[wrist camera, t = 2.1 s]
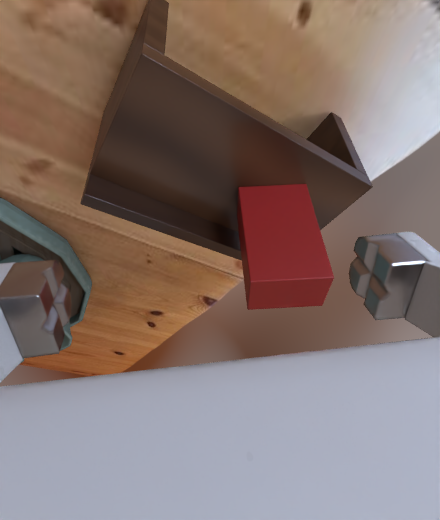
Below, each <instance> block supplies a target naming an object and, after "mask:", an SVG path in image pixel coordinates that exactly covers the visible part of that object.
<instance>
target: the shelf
mask: <svg viewBox="0 0 440 520" xmlns="http://www.w3.org/2000/svg"><path fill="white" fill-rule="evenodd" d="M168 6H169V3H168V2H166V1H165V0H149V1H148V3H147V5H146V8H145V10H144V13H143V15H142V18H141V20H140V23H139V25H138V28H137V30H136V33H135V35H134V38H133V40H132V43H131V45H130V48H129V50H128V53H127V55H126V58H125V60H124V63H123V65H122V68H121V70H120V73H119V75H118V78H117V80H116V82H115V85H114V87H113V90H112V92H111V95H110V97H109V100H108V102H107V105H106V107H105V110H104V113H103V117H102V121H101V125H100V129H99V133H98V136H97V140H96V144H95V148H94V152H93V156H92V160H91V164H90V168H89V172H88V176H87V180H86V184H85V188H84V192H83V196H82V199H81V204H82V205H85V206H88V207H91V208H93V209H96V210H99V211H102V212H105V213H108V214H111V215H113V216H116V217H119V218H122V219H125V220H128V221H131V222H133V223H136V224H139V225H142V226H145V227H148V228H151V229H153V230H156V231H159V232H162V233H165V234H168V235H171V236H173V237H176V238H179V239H182V240H185V241H188V242H191V243H193V244H196V245H199V246H202V247H205V248H208V249H210V250H213V251H216V252H219V253H222V254H225V255H228V256H230V257H233V258H236V259H239V260H242V257H241V248H240V239H239V231H238V222H237V208H238V188H239V187H250V186H271V185H292V184H306V185H307V188H308V191H309V195H310V198H311V202H312V205H313V208H314V212H315V215H316V218H317V222H318V225H319V229H320V230H321V229H322V228H323V227H325V226H326V225H327V224H328V223H329V222H331V221H332V220H333V219H334V218H336V217H337V216H338V215H339V214H341V213H342V212H343V211H344V210H345V209H347V208H348V207H349V206H350V205H351V204H352V203H354V202H355V201H356V200H358V199H359V198H360V197H361V196H362V195H364V194H365V193H366V192H367V191H368V190H369V189H371V188H372V187H373V186H372V184H371V182H370V180H369V178H368V176H367V174H366V171H365V169H364V167H363V165H362V163H361V161H360V158H359V156H358V154H357V152H356V150H355V147H354V145H353V143H352V141H351V139H350V137H349V134H348V132H347V130H346V128H345V126H344V123H343V121H342V119H341V118H340V117H338V116H337V115H335V114H334V113H331V114H330V115H329V116H328V117H327V118H326V119H325V120H324V121H323V122H322V123H321V125H320V126H319V127H318V128H317V129H316V130H315V131H314V132H313V133H312V134H311V135H310V137H309V138H308V139H307V140H306V139H304V138H303V137H301V136H299V135H298V134H296V133H294V132H293V131H291V130H289V129H288V128H286V127H284V126H282V125H281V124H279V123H277V122H276V121H274V120H272V119H271V118H269V117H267V116H266V115H264V114H262V113H261V112H259V111H257V110H255V109H254V108H252V107H250V106H249V105H247V104H245V103H244V102H242V101H240V100H239V99H237V98H235V97H234V96H232V95H230V94H228V93H227V92H225V91H223V90H222V89H220V88H218V87H217V86H215V85H213V84H212V83H210V82H208V81H207V80H205V79H203V78H202V77H200V76H198V75H196V74H195V73H193V72H191V71H190V70H188V69H186V68H185V67H183V66H181V65H180V64H178V63H176V62H175V61H173V60H171V59H169V58H168V57H166V56H164V53H165V41H166V30H167V18H168Z"/></svg>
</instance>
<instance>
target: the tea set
mask: <svg viewBox="0 0 440 520" xmlns="http://www.w3.org/2000/svg"><path fill="white" fill-rule="evenodd" d="M46 260H58V261H59V262H60V263H61V266H62V269H63V272H64V276H63V279H62V281H61V282H62V283H63V284H64V285H65V286H67V287H68V289H69V292H70V296H71V316H70V320H69V322H68V323H67V324H66V325H65V326H64V327H63V329H64V332H65V336H64V339H63V343H62V346H61V349H60V351H61V350H63V349H65V348H67V347H69V346H70V345H71V342H72V336H71V333H70V327H71V326H73V325H75V324H77V323H79V322H80V321H82V320H83V316H84V313H85V309H86V306H87V302H88V299H89V295H90V291H91V286H92V281H91V278H90V276H89V275H88V273H87V271H86V270H85V268H84V267H83V265H82V263H81V262H80V260H79V259H78V257H77V256H76V254H75V252H74V251H73V249H72V248H71V246H70V244H69V243H68V241H67V240H66V239H65V238H63V237H62V236H60V235H59V234H57V233H56V232H54V231H53V230H51V229H49V228H48V227H46V226H45V225H43V224H42V223H40V222H39V221H37V220H36V219H34V218H32V217H31V216H29V215H28V214H26V213H25V212H23V211H22V210H20V209H19V208H17V207H16V206H14V205H12V204H11V203H9V202H8V201H6V200H5V199H2V198H0V263H11V262H16V263H17V262H29V261H46ZM23 361H24V358H23ZM23 361H22V362H23ZM22 362H21V363H22Z"/></svg>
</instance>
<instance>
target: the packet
mask: <svg viewBox="0 0 440 520" xmlns="http://www.w3.org/2000/svg"><path fill="white" fill-rule="evenodd" d="M237 222H238V231H239V239H240V248H241V257H242V266H243V274H244V283H245V291H246V301H247V309H248V310H249V309H268V308H287V307H305V306H322V305H323V303H324V300H325V298H326V295H327V293H328V291H329V288H330V286H331V283H332V281H333V279H334V276H333V272H332V269H331V266H330V262H329V259H328V256H327V252H326V249H325V245H324V242H323V239H322V235H321V232H320V229H319V225H318V222H317V218H316V215H315V212H314V208H313V205H312V202H311V198H310V195H309V191H308V188H307V185H306V184H292V185H271V186H250V187H239V188H238V208H237Z"/></svg>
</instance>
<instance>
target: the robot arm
mask: <svg viewBox="0 0 440 520" xmlns="http://www.w3.org/2000/svg"><path fill="white" fill-rule="evenodd" d="M354 252H355V253H356V255H357V257H356V258H355V259H354V260H353V261H352V263H351V264H350V270H349V279H350V284H351V286H352V289H353V290H354V291H355V293H356V294H357V295H359V296H361V297H363V298H365V302H364V305H365V307H366V308H367V309H368V311H369V312H370V314H371V315H372V316H373V318H374V319H375V320H383V319H395V318H405V320H407V321H409V322H410V323H412V324H414V325H415V326H417V327H418V328H420V329H421V330H423V331H424V332H426V333H428V334H429V335H431V336H432V337H433V338H424V339H415V340H406V341H399V342H389V343H380V344H371V345H363V346H354V347H346V348H336V349H328V350H319V351H310V352H302V353H293V354H284V355H276V356H266V357H257V358H248V359H240V360H232V361H222V362H213V363H204V364H195V365H187V366H179V367H170V368H161V369H151V370H143V371H134V372H125V373H116V374H107V375H99V376H90V377H81V378H72V379H63V380H55V381H46V382H37V383H28V384H19V385H11V386H3V387H0V520H440V253H439V252H438V251H437V250H435V249H434V248H433V247H432V246H431V245H429V244H428V243H427V242H425V241H424V240H423V239H422V238H420V237H419V236H418V235H417V234H415V233H414V232H401V233H392V234H382V235H372V236H363V237H359V238H358V239H357V241H356V243H355V247H354ZM63 276H64V272H63V269H62V266H61V263H60V262H59V261H58V260H46V261H29V262H17V263H16V262H11V263H0V382H1V381H2V380H3V379H4V378H5V377H6V376H7V375H8V374H9V373H10V372H11V371H12V370H13V369H14V368H16V367H17V365H19V364H20V363H21V362H22V361H23V358H29V357H36V356H44V355H52V354H59V352H60V349H61V346H62V343H63V339H64V336H65V332H64V329H63V327H64V326H65V325H66V324H67V323H68V322H69V320H70V316H71V296H70V292H69V289H68V287H67V286H65V285H64V284H63V283H62V282H61V281H62V279H63Z"/></svg>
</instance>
